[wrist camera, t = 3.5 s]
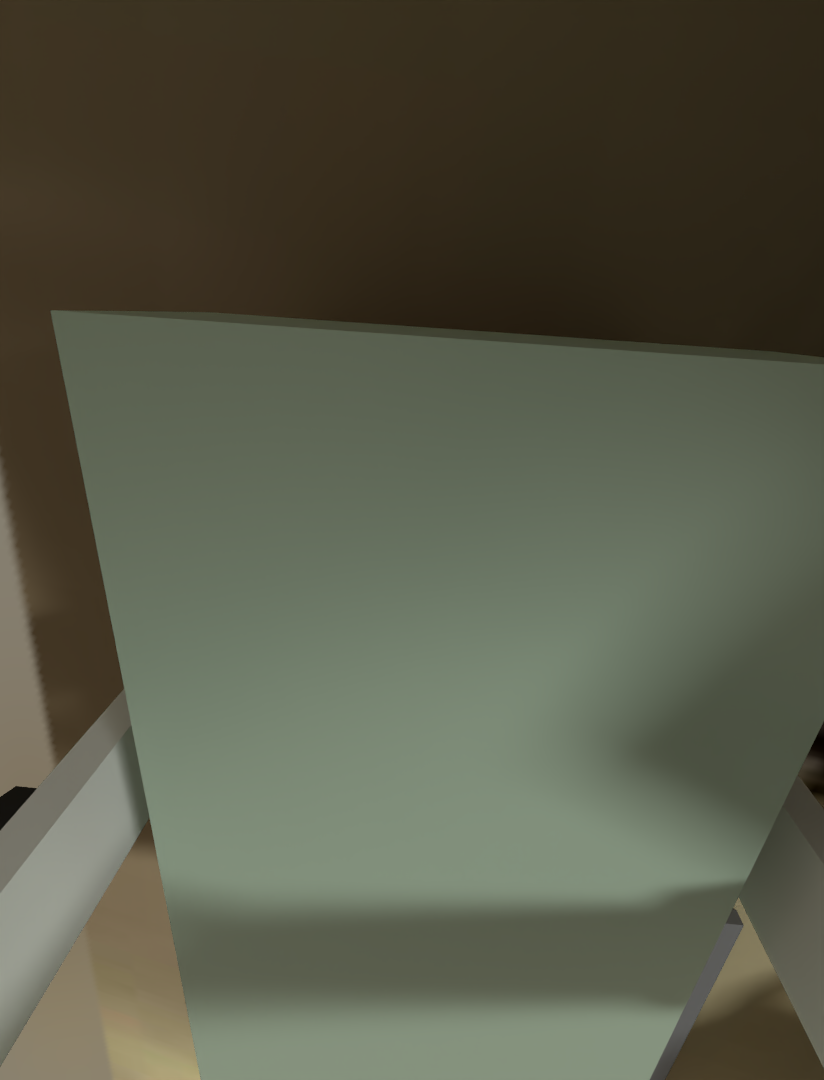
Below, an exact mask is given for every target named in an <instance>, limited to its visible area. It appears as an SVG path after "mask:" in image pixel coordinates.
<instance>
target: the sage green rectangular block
mask: <svg viewBox="0 0 824 1080" xmlns="http://www.w3.org/2000/svg"><path fill="white" fill-rule="evenodd" d="M50 311H51V316H52V321H53V326H54V332H55V337H56V342H57V347H58V352H59V357H60V362H61V367H62V372H63V378H64V383H65V388H66V393H67V398H68V403H69V408H70V413H71V418H72V424H73V429H74V434H75V439H76V444H77V449H78V454H79V459H80V464H81V470H82V475H83V480H84V485H85V490H86V495H87V500H88V505H89V510H90V516H91V521H92V526H93V531H94V536H95V541H96V546H97V551H98V556H99V562H100V567H101V572H102V577H103V582H104V587H105V592H106V597H107V602H108V608H109V613H110V618H111V623H112V628H113V633H114V638H115V643H116V648H117V654H118V659H119V664H120V669H121V674H122V679H123V684H124V689H125V694H126V700H127V705H128V710H129V715H130V720H131V725H132V730H133V735H134V740H135V746H136V751H137V756H138V761H139V766H140V771H141V776H142V781H143V786H144V792H145V797H146V802H147V807H148V812H149V817H150V822H151V827H152V832H153V838H154V843H155V848H156V853H157V858H158V863H159V868H160V873H161V878H162V884H163V889H164V894H165V899H166V904H167V909H168V914H169V919H170V925H171V930H172V935H173V940H174V945H175V950H176V955H177V960H178V965H179V971H180V976H181V981H182V986H183V991H184V996H185V1001H186V1006H187V1011H188V1017H189V1022H190V1027H191V1032H192V1037H193V1042H194V1047H195V1052H196V1057H197V1063H198V1068H199V1073H200V1078H201V1080H650V1078H651V1076H652V1074H653V1072H654V1070H655V1068H656V1066H657V1064H658V1061H659V1059H660V1057H661V1055H662V1053H663V1051H664V1049H665V1047H666V1045H667V1043H668V1041H669V1039H670V1037H671V1035H672V1033H673V1031H674V1028H675V1026H676V1024H677V1022H678V1020H679V1018H680V1016H681V1014H682V1012H683V1010H684V1008H685V1006H686V1004H687V1002H688V1000H689V998H690V996H691V993H692V991H693V989H694V987H695V985H696V983H697V981H698V979H699V977H700V975H701V973H702V971H703V969H704V967H705V965H706V963H707V961H708V958H709V956H710V954H711V952H712V950H713V948H714V946H715V944H716V942H717V940H718V938H719V936H720V934H721V932H722V930H723V928H724V925H725V923H726V921H727V919H728V917H729V915H730V913H731V911H732V909H733V907H734V905H735V903H736V901H737V899H738V897H739V895H740V893H741V890H742V888H743V886H744V884H745V882H746V880H747V878H748V876H749V874H750V872H751V870H752V868H753V866H754V864H755V862H756V860H757V857H758V855H759V853H760V851H761V849H762V847H763V845H764V843H765V841H766V839H767V837H768V835H769V833H770V831H771V829H772V827H773V825H774V822H775V820H776V818H777V816H778V814H779V812H780V810H781V808H782V806H783V804H784V802H785V800H786V798H787V796H788V794H789V792H790V789H791V787H792V785H793V783H794V781H795V779H796V777H797V775H798V773H799V771H800V769H801V767H802V765H803V763H804V761H805V759H806V757H807V754H808V752H809V750H810V748H811V746H812V744H813V742H814V740H815V738H816V736H817V734H818V732H819V730H820V728H821V726H822V724H823V721H824V357H817V356H808V355H799V354H790V353H782V352H773V351H760V350H745V349H731V348H716V347H702V346H688V345H673V344H659V343H645V342H630V341H616V340H601V339H587V338H573V337H558V336H544V335H530V334H515V333H501V332H486V331H472V330H458V329H443V328H429V327H415V326H400V325H386V324H371V323H357V322H343V321H328V320H314V319H300V318H285V317H271V316H257V315H242V314H228V313H213V312H160V311H74V310H50Z"/></svg>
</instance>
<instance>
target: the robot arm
mask: <svg viewBox="0 0 824 1080" xmlns="http://www.w3.org/2000/svg"><path fill="white" fill-rule="evenodd" d="M148 819H149V812H148V807H147V802H146V797H145V792H144V786H143V781H142V776H141V771H140V766H139V761H138V756H137V751H136V746H135V740H134V735H133V730H132V725H131V720H130V715H129V710H128V705H127V700H126V694H125V689H123V691H122V692H121V693H120V694H119V695H118V696H117V697H116V699H115V700H114V701H113V702H112V703H111V704H110V705H109V707H108V708H107V709H106V710H105V711H104V712H103V713H102V715H101V716H100V717H99V718H98V719H97V720H96V721H95V723H94V724H93V725H92V726H91V727H90V728H89V729H88V731H87V732H86V733H85V734H84V735H83V736H82V738H81V739H80V740H79V741H78V742H77V743H76V744H75V746H74V747H73V748H72V749H71V750H70V751H69V752H68V754H67V755H66V756H65V757H64V758H63V759H62V760H61V762H60V763H59V764H58V765H57V766H56V767H55V768H54V770H53V771H52V772H51V773H50V774H49V775H48V777H47V778H46V779H45V780H44V781H43V782H42V783H41V785H40V786H39V787H38V788H28V787H18V786H16V787H14V788H13V789H12V790H10V791H8V792H7V793H5V794H4V795H3V796H1V797H0V1066H1V1065H2V1063H3V1061H4V1060H5V1058H6V1056H7V1055H8V1053H9V1051H10V1050H11V1048H12V1046H13V1045H14V1043H15V1041H16V1039H17V1038H18V1036H19V1035H20V1033H21V1031H22V1030H23V1028H24V1026H25V1025H26V1023H27V1021H28V1020H29V1018H30V1016H31V1015H32V1013H33V1011H34V1010H35V1008H36V1006H37V1004H38V1003H39V1001H40V999H41V998H42V996H43V995H44V993H45V991H46V990H47V988H48V986H49V985H50V982H51V981H52V980H53V978H54V976H55V975H56V973H57V971H58V970H59V968H60V966H61V965H62V963H63V961H64V959H65V958H66V956H67V954H68V953H69V951H70V949H71V948H72V946H73V944H74V943H75V941H76V939H77V938H78V936H79V934H80V933H81V931H82V929H83V928H84V926H85V924H86V923H87V921H88V919H89V918H90V916H91V914H92V913H93V911H94V909H95V908H96V906H97V904H98V903H99V901H100V899H101V898H102V896H103V894H104V893H105V891H106V889H107V888H108V886H109V884H110V883H111V881H112V879H113V878H114V876H115V874H116V873H117V871H118V869H119V868H120V866H121V864H122V863H123V861H124V859H125V858H126V856H127V854H128V853H129V851H130V849H131V848H132V846H133V844H134V842H135V841H136V839H137V837H138V836H139V834H140V832H141V831H142V829H143V827H144V826H145V824H146V822H147V821H148ZM739 899H740V901H741V903H742V905H743V907H744V909H745V911H746V913H747V915H748V917H749V919H750V921H751V923H752V925H753V927H754V929H755V931H756V933H757V935H758V937H759V939H760V941H761V943H762V945H763V947H764V949H765V951H766V953H767V955H768V957H769V959H770V961H771V963H772V965H773V967H774V969H775V971H776V973H777V975H778V977H779V979H780V981H781V983H782V985H783V987H784V989H785V991H786V993H787V995H788V997H789V999H790V1001H791V1003H792V1005H793V1007H794V1009H795V1011H796V1013H797V1015H798V1017H799V1020H800V1022H801V1024H802V1026H803V1028H804V1030H805V1032H806V1034H807V1036H808V1038H809V1040H810V1042H811V1044H812V1046H813V1048H814V1050H815V1052H816V1054H817V1056H818V1058H819V1060H820V1062H821V1064H822V1066H823V1068H824V809H823V808H822V806H821V805H820V804H819V802H818V801H817V800H816V798H815V797H814V796H813V794H812V793H811V792H810V790H809V789H808V788H807V786H806V785H805V784H804V782H803V781H802V780H801V778H800V777H799V776H798V775H797V777H796V779H795V781H794V783H793V785H792V787H791V789H790V792H789V794H788V796H787V798H786V800H785V802H784V804H783V806H782V808H781V810H780V812H779V814H778V816H777V818H776V820H775V822H774V825H773V827H772V829H771V831H770V833H769V835H768V837H767V839H766V841H765V843H764V845H763V847H762V849H761V851H760V853H759V855H758V857H757V860H756V862H755V864H754V866H753V868H752V870H751V872H750V874H749V876H748V878H747V880H746V882H745V884H744V886H743V888H742V890H741V893H740V895H739Z"/></svg>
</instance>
